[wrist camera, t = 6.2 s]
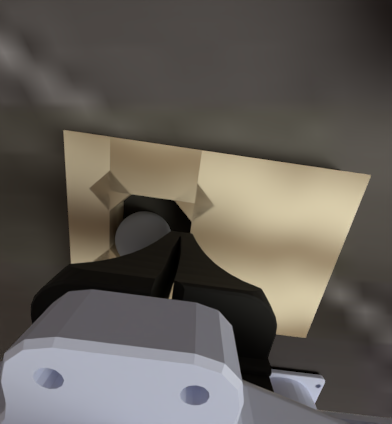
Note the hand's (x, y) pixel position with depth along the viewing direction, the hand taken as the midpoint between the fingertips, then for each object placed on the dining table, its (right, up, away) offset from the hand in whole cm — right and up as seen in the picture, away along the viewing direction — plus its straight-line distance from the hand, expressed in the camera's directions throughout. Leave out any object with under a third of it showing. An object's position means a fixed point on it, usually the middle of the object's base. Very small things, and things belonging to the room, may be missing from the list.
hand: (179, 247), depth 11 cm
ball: (-2, 0, +2) cm, 3 cm away
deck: (+1, 0, +3) cm, 4 cm away
